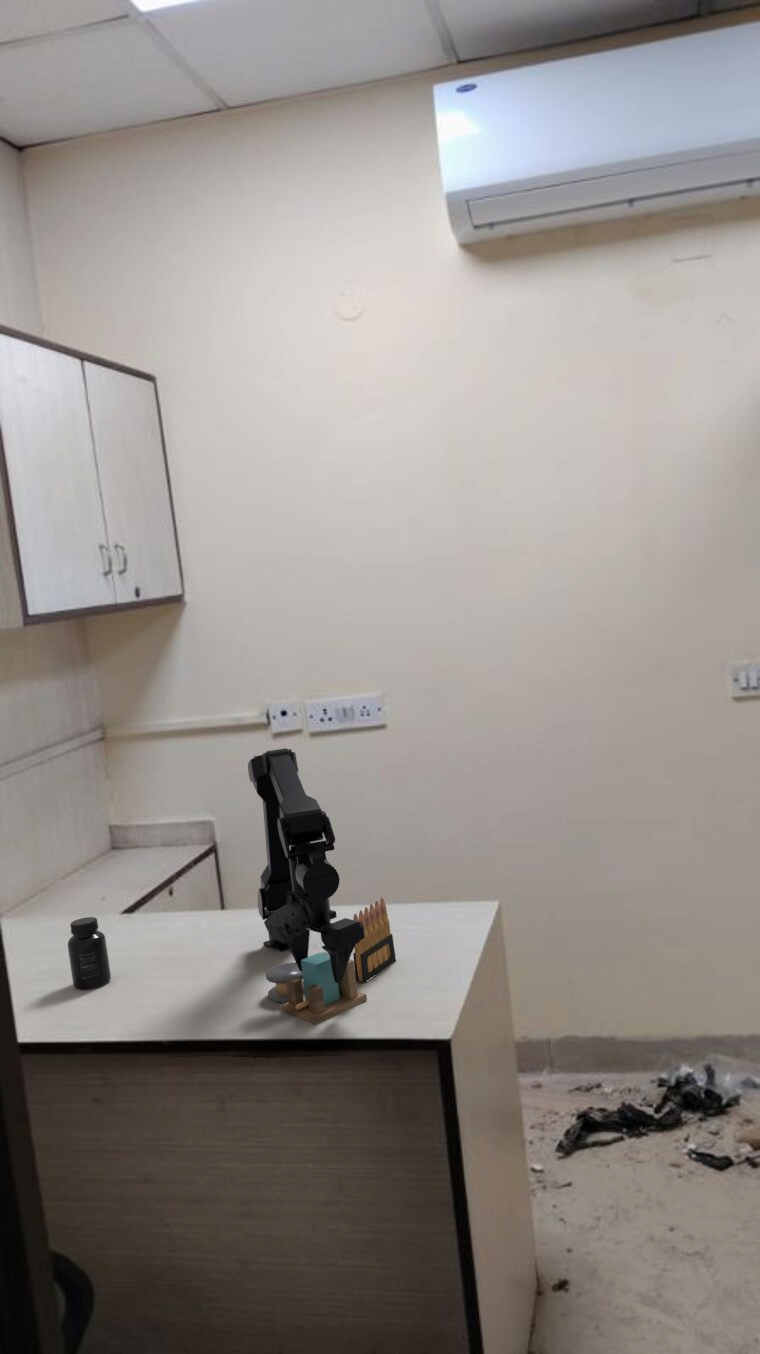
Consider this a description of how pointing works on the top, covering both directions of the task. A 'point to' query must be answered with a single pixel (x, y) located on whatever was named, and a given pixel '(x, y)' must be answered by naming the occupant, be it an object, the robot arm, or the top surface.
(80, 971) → the supplement bottle
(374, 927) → the ammunition clip
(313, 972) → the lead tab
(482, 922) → the top surface
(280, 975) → the spool
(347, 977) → the notch board
